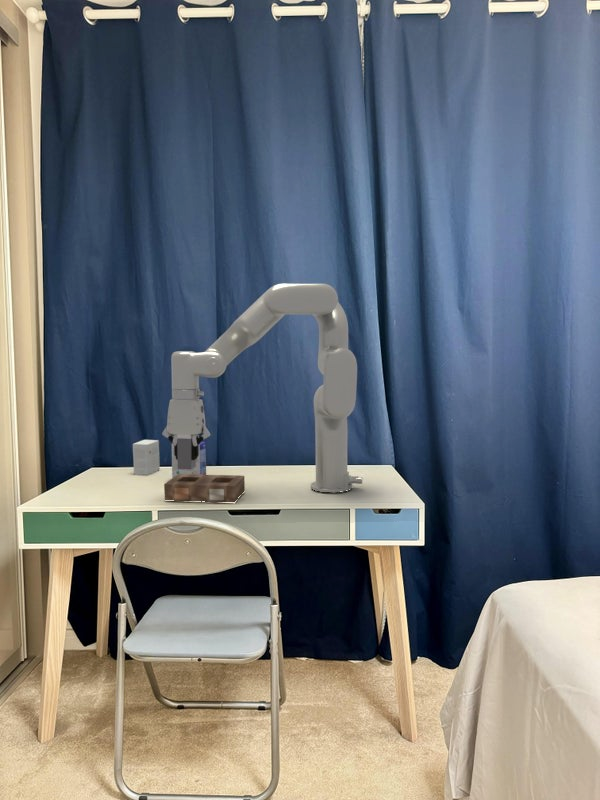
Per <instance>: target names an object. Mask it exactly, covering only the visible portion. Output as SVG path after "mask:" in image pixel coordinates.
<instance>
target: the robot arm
mask: <svg viewBox="0 0 600 800" xmlns="http://www.w3.org/2000/svg"><path fill="white" fill-rule="evenodd" d="M286 315H290V316H291V315H293V316H297V315H298V316H302V315H303V316H305V315H306V316H307V315H308V316H311V315H312V316H313V317H314V318H315V320H316V322H317V325H318V333H319V334H318V338H319V340H318V356H317V368H318V370H319V372H320V373H321V375H322V376H323V382H322V383H323V384H322V385H320V386H319V387H318V388H317V389H316V391H315V393H314V396H313V413H314V423H315V424H314V425H315V426H314V427H315V432H314V433H315V434H314V435H315V481H313V482H311V483H310V489H311V490H312V489H313V490H312V491H314V490H315V491H314V492H317V491H320V492H319V493H321V492H340V491H346V490H349V489H351V488H352V487H353V484H356V485H363V477H362V476H361V477H360V476H358V475H357V476H356V475H355V476H353V475H350V471H348V433H349V432H348V417H349V416H350V415H351V413H352V412H354V409H355V406H356V402H357V401H356V400H357V384H358V383H357V382H358V363H357V358H356V356H355V354H354V353H353V352H352V350H350V349H349V324H348V318H347V317H348V316H347V315H346V312H345V310H344V308H343V307H342V305H341V304H340V303H339V296H338V293H337V291H336V290H335V288H334V287H333V286H331V285H329V284H328V283H277V284H275V285H272V286H271V287H269V289H267V290H266V291H265V292H264V293H263V294H262V295H261V296H260V297H259V298H257V299H256V301H254V302H253V303H252V304H251V305H250V306H249V307H248V308H247V309H246V310H245V311H244V312H243V313H242V314H240V316H239V317H238V318H237V319H235V320H234V321H233V323H232V324H231V325H230V327H229V328H228V329H227V330H226V331H224V333H222V335H220V336H219V338H218V339H216V340H215V341H214V342H213V343H212V344H211V345H210V346H208V348H207V349H206V350H205V351H202V352H195V351H193V350H191V351H189V350H185V351H184V350H183V351H181V350H180V351H174V352H172V354H171V365H170V366H171V399H170V400H169V404H168V408H167V409H168V410H167V421H166V422H167V423H166V426H165V427H164V430H163V431H162V433H161V434H162V436H164V438H166V439H168V440H169V442H170V443H171V444H173V445H174V455H175V456H176V460H178V453H177V434H183V435H192V441H193V446H192V460H195V459H197V457H198V456H199V444H200V443H201V442H204V440H205V439H207V438H208V437H210V436H211V433H210V431H209V430H208V428H207V426H206V415H205V408H204V403H203V399H200V398H201V397H204V395H205V392H204V391H202V390H201V389H200V379H199V378H200V377H203V378H212V379H214V378H218V377H220V376H221V375H223V374H224V373H225V371H226V369H227V366H229V365H230V363H231V362H232V361H233V360H234V359H235V358H237V357H238V355H240V354H241V353H242V352H243V351H244V350H246V349H247V348H249V347H251V346H253V345H254V344H256V343H257V342H259V341H260V339H262V338H263V336H265V335H266V334H267V333H268V332H269V331H270V330H271V329H272V328H273V327H274V326H275V325H276V324H277V323H278V322H279V321H280V320H281V319H282V318H283V317H284V316H286ZM353 488H354V487H353ZM353 488H352V489H353Z"/></svg>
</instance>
